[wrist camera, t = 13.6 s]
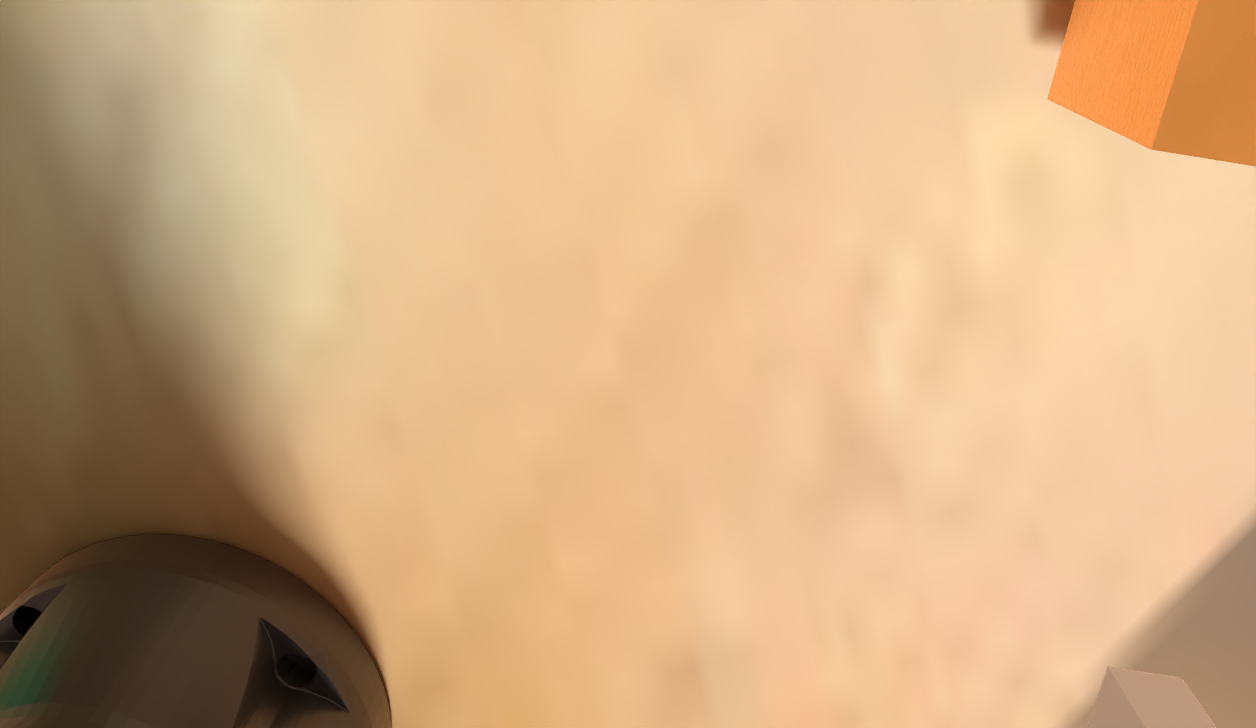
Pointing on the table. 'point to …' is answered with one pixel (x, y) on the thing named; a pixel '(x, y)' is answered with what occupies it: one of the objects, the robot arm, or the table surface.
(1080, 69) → the square frame with handle
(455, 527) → the table surface
